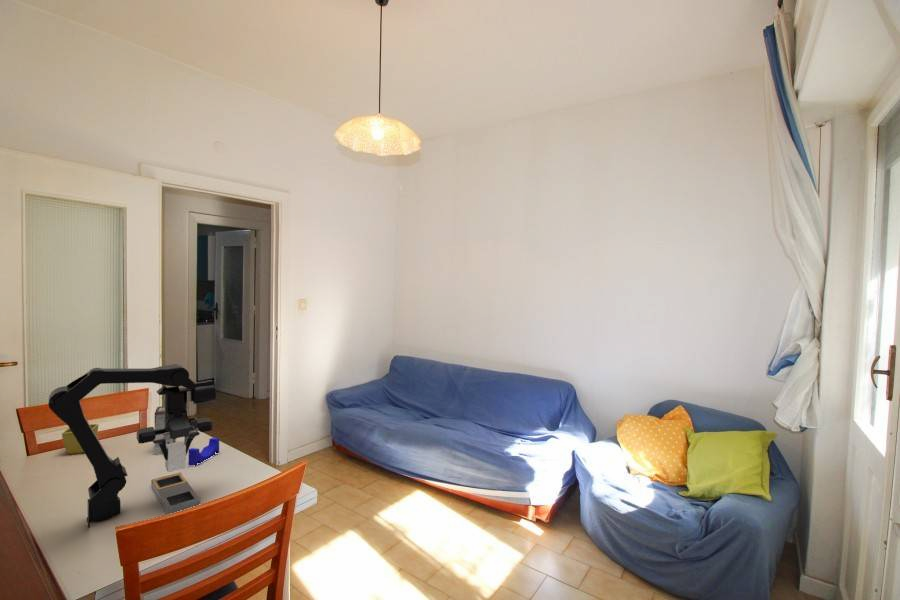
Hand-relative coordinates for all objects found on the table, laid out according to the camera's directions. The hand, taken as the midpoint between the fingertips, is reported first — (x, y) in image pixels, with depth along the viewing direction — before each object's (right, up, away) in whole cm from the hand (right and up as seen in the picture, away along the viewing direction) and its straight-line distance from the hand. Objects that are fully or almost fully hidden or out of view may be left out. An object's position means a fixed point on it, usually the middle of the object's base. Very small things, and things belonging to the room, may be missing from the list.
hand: (175, 457), depth 128 cm
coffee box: (-29, -11, +38) cm, 49 cm away
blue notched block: (-9, -12, +30) cm, 33 cm away
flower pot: (-58, -10, +34) cm, 68 cm away
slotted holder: (-1, -13, +1) cm, 13 cm away
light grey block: (0, -3, 0) cm, 3 cm away
